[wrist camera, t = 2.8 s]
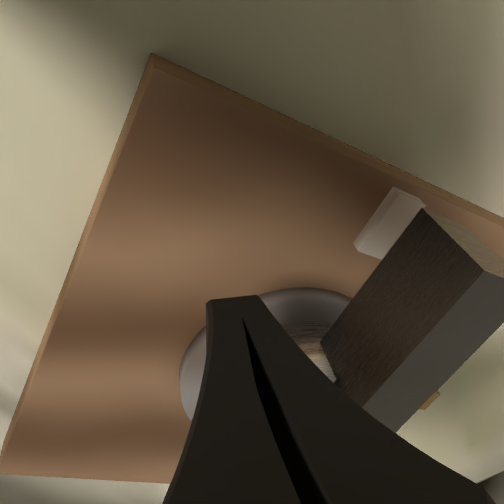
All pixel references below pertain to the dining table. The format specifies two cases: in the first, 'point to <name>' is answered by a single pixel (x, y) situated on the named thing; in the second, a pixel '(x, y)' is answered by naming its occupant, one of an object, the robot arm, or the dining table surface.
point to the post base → (200, 268)
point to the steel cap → (411, 319)
